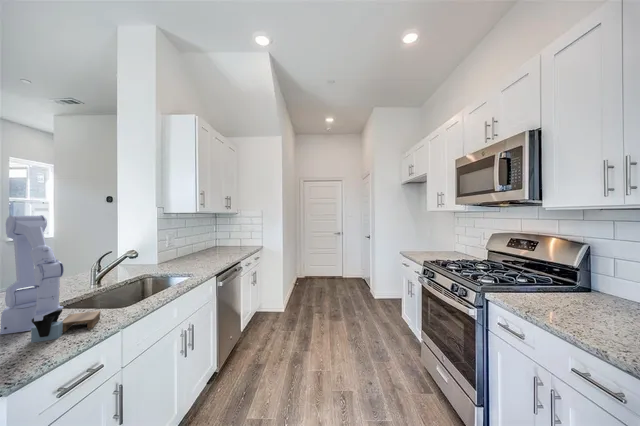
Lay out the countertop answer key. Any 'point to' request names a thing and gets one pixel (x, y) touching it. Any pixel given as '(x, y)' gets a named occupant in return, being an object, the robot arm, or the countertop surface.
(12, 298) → the robot arm
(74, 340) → the countertop surface
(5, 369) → the countertop surface
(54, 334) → the housing
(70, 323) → the stand
